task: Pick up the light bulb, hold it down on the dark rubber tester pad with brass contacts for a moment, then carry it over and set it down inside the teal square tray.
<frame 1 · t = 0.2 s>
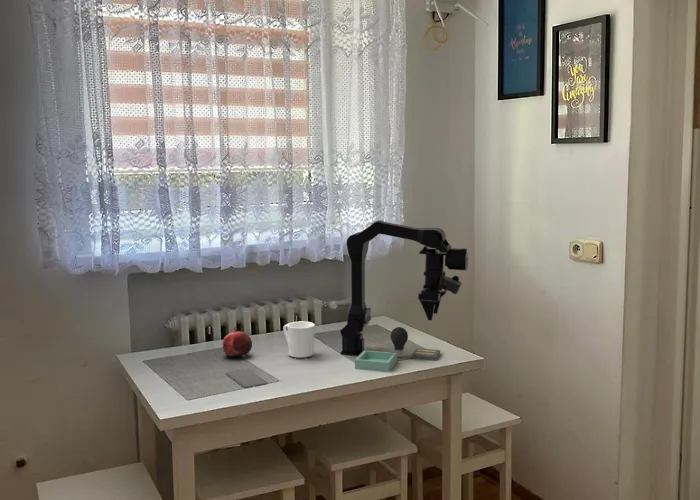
hand: (432, 316, 233), 14 cm above the table, fingers open, 9 cm apart
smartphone: (246, 380, 216), on the table
teal square tray: (376, 365, 229), on the table
tester pad: (425, 356, 239), on the table
mug: (298, 355, 240), on the table
light bulb: (399, 358, 237), on the table
fruit: (237, 356, 239), on the table
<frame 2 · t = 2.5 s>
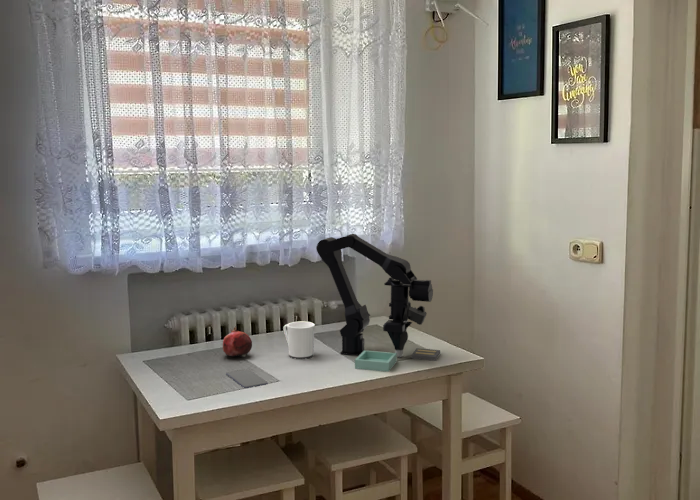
hand: (399, 346, 237), 4 cm above the table, fingers closed on light bulb, 5 cm apart
light bulb: (399, 358, 237), on the table, touching gripper
everything else where it was.
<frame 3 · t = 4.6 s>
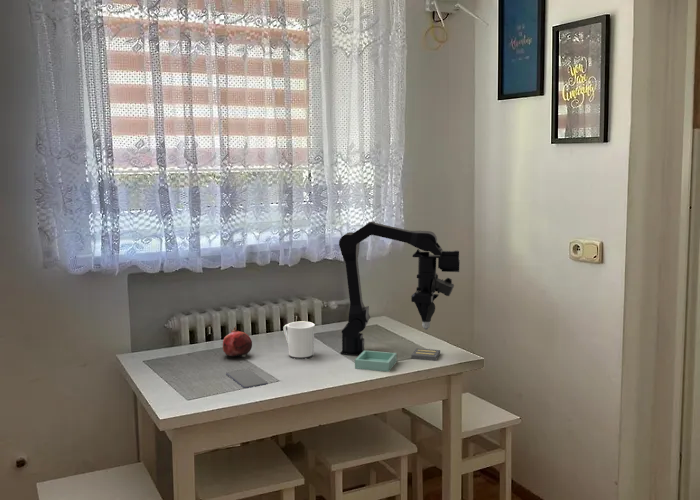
hand: (426, 318, 237), 12 cm above the table, fingers closed on light bulb, 5 cm apart
light bulb: (426, 329, 237), point 9 cm above the table, touching gripper
everything else where it was.
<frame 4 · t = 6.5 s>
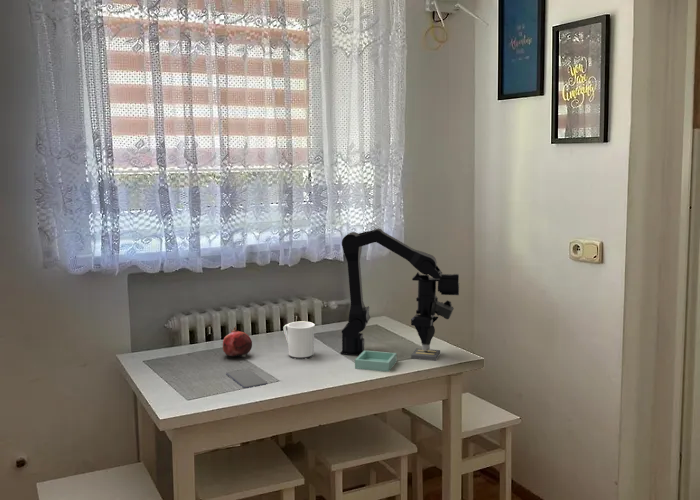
hand: (425, 341, 238), 5 cm above the table, fingers closed on light bulb, 5 cm apart
light bulb: (425, 352, 238), point 1 cm above the table, touching gripper
everything else where it was.
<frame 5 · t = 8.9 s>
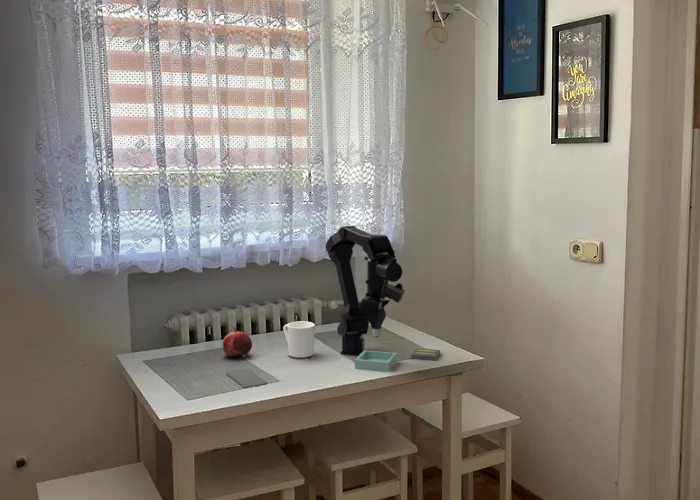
hand: (376, 325, 227), 13 cm above the table, fingers closed on light bulb, 5 cm apart
light bulb: (376, 337, 228), point 9 cm above the table, touching gripper
everything else where it was.
when the fingers open (5 cm above the table, at t = 11.0 s): light bulb stays where it is, resting on teal square tray.
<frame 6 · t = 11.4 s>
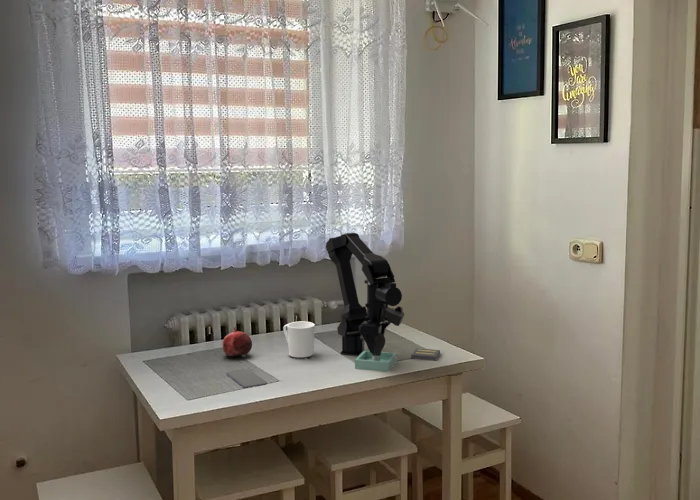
hand: (376, 348, 228), 5 cm above the table, fingers open, 9 cm apart
light bulb: (376, 363, 229), resting on teal square tray
everything else where it was.
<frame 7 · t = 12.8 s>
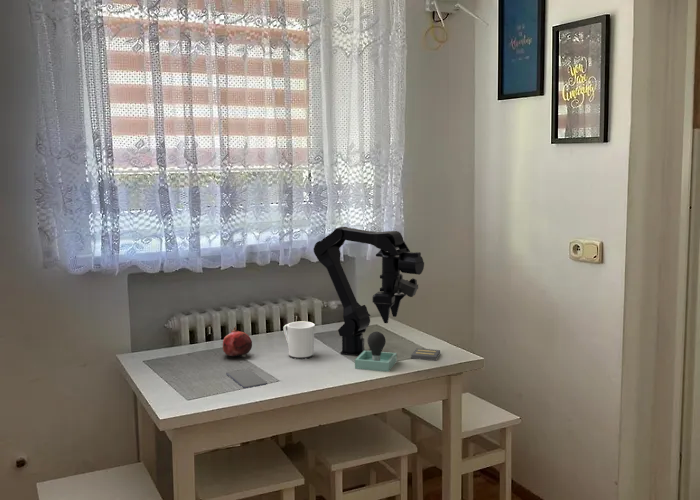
hand: (390, 319, 233), 13 cm above the table, fingers open, 9 cm apart
nothing on the table moved.
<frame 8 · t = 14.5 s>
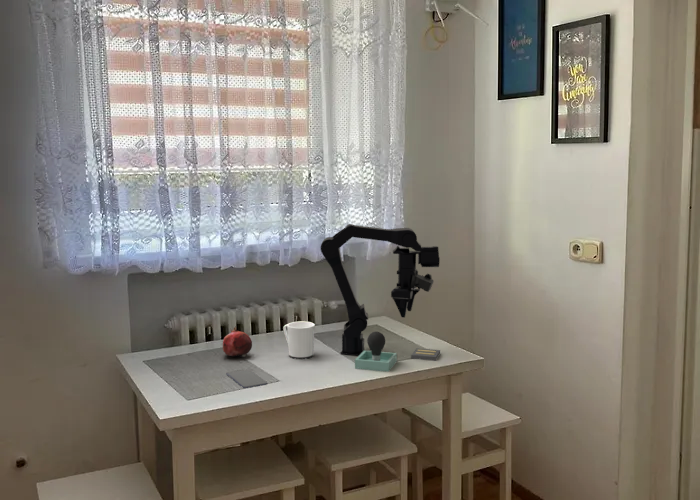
hand: (406, 314, 241), 13 cm above the table, fingers open, 9 cm apart
nothing on the table moved.
at the end: light bulb inside the target area on the teal square tray (0.2 cm from its centre), point 0.4 cm above the teal square tray's base; light bulb touching teal square tray; the gripper is holding nothing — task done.
